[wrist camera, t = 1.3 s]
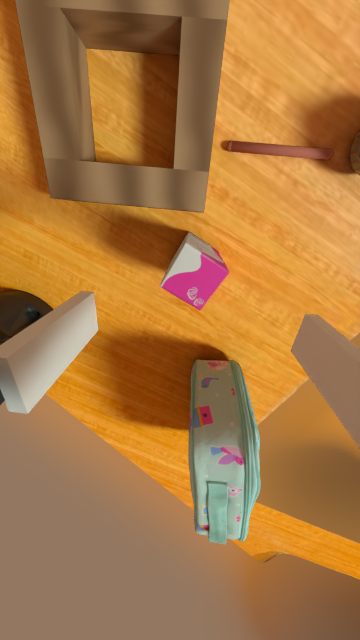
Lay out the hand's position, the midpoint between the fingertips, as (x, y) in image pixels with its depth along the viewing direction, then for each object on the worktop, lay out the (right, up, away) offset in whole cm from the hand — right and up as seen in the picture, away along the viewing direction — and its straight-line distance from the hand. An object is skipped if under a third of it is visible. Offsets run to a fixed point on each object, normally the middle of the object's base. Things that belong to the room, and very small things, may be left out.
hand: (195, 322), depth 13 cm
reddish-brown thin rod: (+11, +21, +13) cm, 27 cm away
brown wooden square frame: (-6, +25, +12) cm, 28 cm away
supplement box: (+1, +10, +19) cm, 22 cm away
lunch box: (+7, -17, +33) cm, 38 cm away
